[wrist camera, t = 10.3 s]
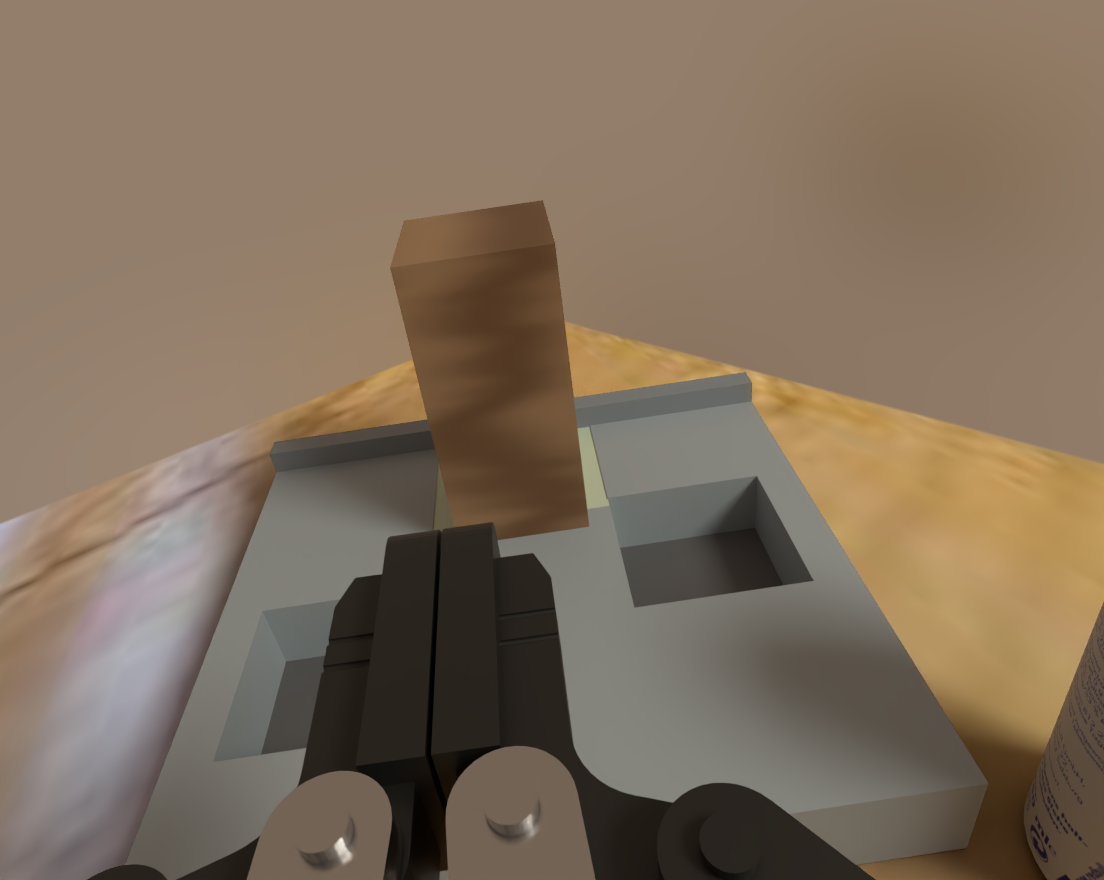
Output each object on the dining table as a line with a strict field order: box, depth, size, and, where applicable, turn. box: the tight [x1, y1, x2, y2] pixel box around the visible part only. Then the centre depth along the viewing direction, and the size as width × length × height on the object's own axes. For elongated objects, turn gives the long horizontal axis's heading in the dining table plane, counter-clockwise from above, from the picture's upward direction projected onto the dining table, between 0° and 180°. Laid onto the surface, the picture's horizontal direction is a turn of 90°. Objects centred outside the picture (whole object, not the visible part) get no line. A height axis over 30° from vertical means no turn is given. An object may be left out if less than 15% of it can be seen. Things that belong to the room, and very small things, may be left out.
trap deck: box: [125, 372, 989, 880], centre depth 27 cm, size 22×20×4 cm
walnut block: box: [390, 201, 589, 540], centre depth 28 cm, size 5×5×11 cm
